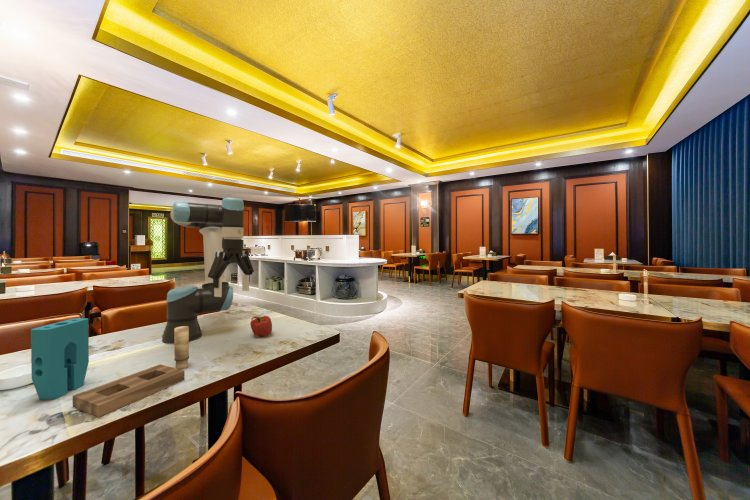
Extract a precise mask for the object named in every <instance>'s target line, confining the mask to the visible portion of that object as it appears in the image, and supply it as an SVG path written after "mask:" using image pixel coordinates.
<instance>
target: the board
mask: <svg viewBox="0 0 750 500" xmlns="http://www.w3.org/2000/svg"><path fill="white" fill-rule="evenodd" d="M182 381H185V370H184V369H176V367H173V366H169V365H164V364H161V363H160V364H157V365H154V366H151V367H149V368H146V369H143V370H140V371H137V372H134V373H132V374H130V375H126V376H124V377H121V378H118V379H115V380H112V381H110V382H107V383H104V384H101V385H98V386H96V387H93V388H90V389H88V390H85V391H82V392H79V393H76V394H73V395H72V408H75V409H77V410H80V411H82V412H84V413H86V414H90V415H92V416H94V417H96V418H101V417H103V416H106V415H107V414H110V413H112V412H114V411H116V410H119V409H121V408H123V407H125V406H128V405H130V404H132V403H135V402H137V401H139V400H141V399H144V398H146V397H148V396H150V395H151V396H152V395H153V394H155V393H158V392H159V391H160V392H161V391H162V390H165V389H166V388H169V387H172V386H174V385H176V384H178V383H180V382H182Z"/></svg>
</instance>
